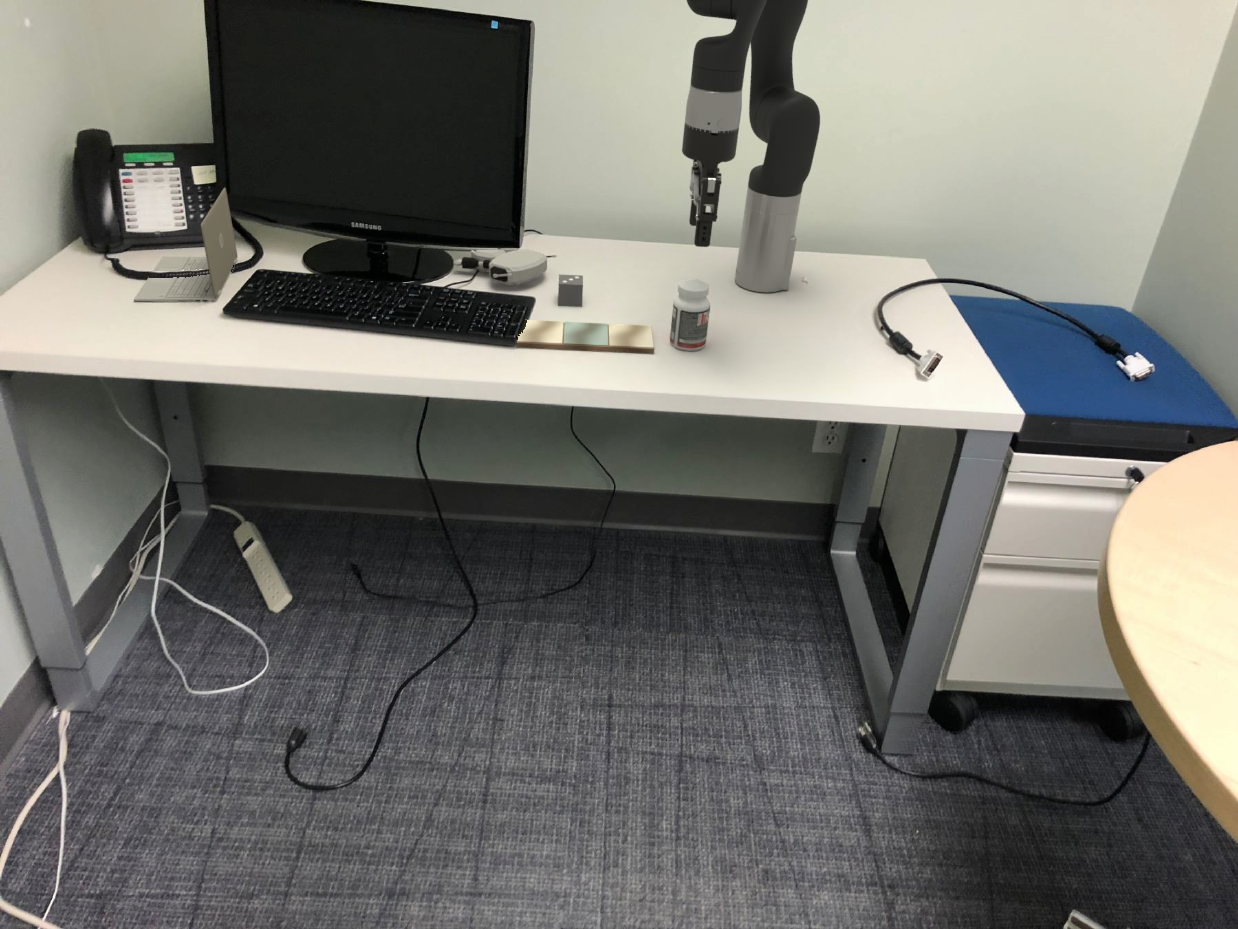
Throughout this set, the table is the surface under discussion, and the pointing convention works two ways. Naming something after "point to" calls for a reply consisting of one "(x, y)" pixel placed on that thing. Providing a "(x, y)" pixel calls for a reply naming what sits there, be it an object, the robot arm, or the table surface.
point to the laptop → (198, 263)
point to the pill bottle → (690, 315)
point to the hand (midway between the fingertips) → (698, 235)
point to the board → (587, 337)
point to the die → (570, 290)
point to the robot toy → (507, 264)
